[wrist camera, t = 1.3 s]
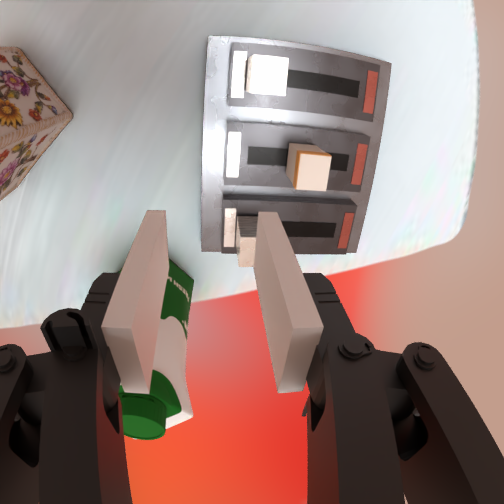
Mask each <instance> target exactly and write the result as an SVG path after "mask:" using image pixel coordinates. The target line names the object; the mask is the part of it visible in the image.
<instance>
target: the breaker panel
mask: <svg viewBox="0 0 504 504" xmlns="http://www.w3.org/2000/svg"><path fill="white" fill-rule="evenodd" d="M391 64H392V63H389V62H385V61H382V60H378V59H374V58H371V57H367V56H363V55H359V54H354V53H350V52H345V51H341V50H336V49H331V48H326V47H320V46H314V45H308V44H302V43H295V42H288V41H280V40H271V39H261V38H248V37H232V36H208V48H207V63H206V79H205V98H204V120H203V149H202V202H201V249H202V252H221V253H225V254H237V257H238V265H239V267H254V257H255V246H256V234H257V223H258V212H277V213H278V216H279V218H280V220H281V223H282V225H283V227H284V230H285V232H286V234H287V237H288V239H289V242H290V244H291V246H292V249H293V251H294V254H346V253H356V251H357V247H358V243H359V239H360V235H361V231H362V227H363V223H364V219H365V215H366V210H367V206H368V202H369V197H370V193H371V188H372V183H373V178H374V174H375V169H376V163H377V158H378V153H379V147H380V142H381V136H382V130H383V124H384V118H385V111H386V104H387V97H388V90H389V82H390V73H391ZM289 143H296V144H307V145H316V146H318V147H319V148H320V149H322V150H323V151H324V152H326V153H328V154H330V155H331V156H332V157H331V164H330V170H329V176H328V182H327V188H326V191H314V190H297V189H295V188H294V187H293V184H292V182H291V181H290V179H289V178H288V176H287V175H286V168H287V159H288V150H289Z"/></svg>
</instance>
